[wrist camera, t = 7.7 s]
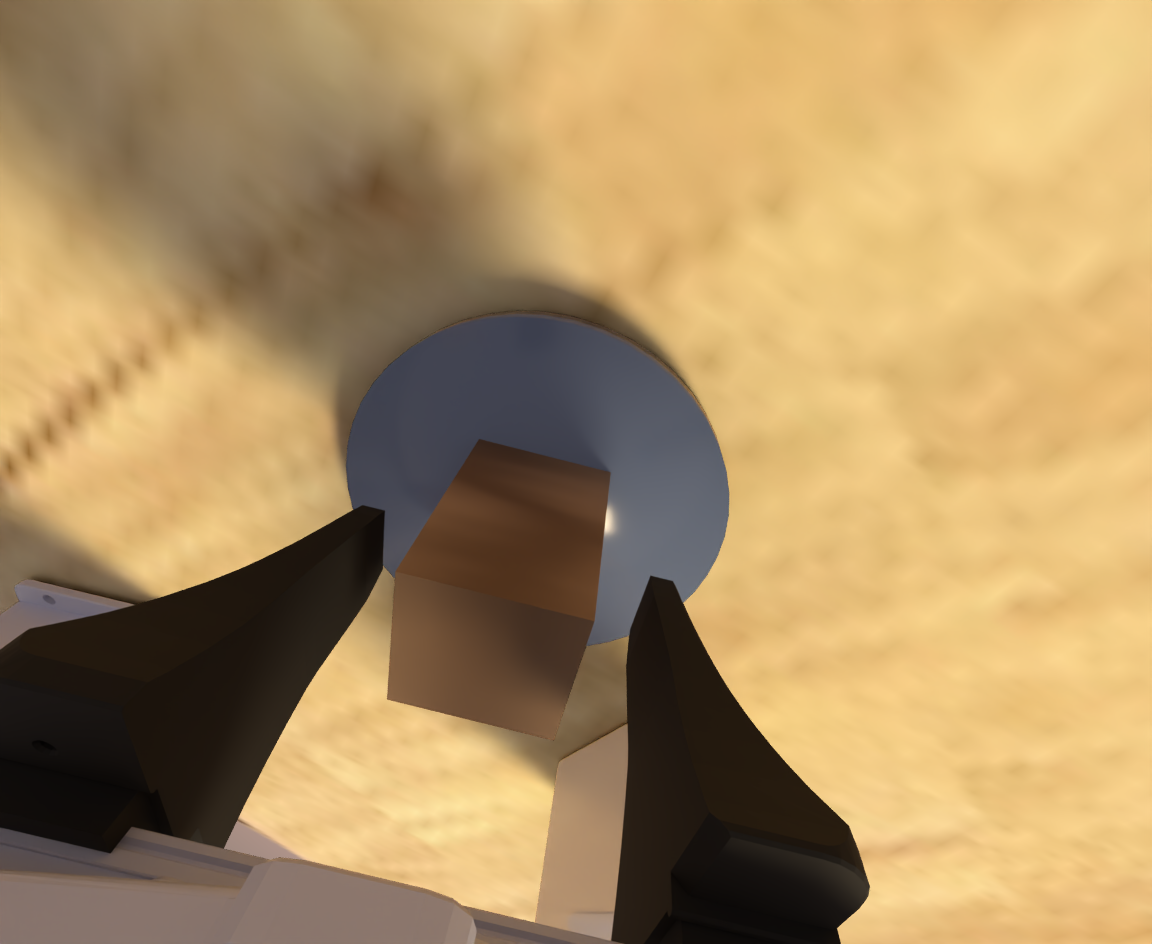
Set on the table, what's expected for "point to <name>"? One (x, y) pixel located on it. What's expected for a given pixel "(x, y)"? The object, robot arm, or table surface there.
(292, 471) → the table surface
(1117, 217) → the table surface
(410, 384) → the blue-grey round disc
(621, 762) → the jar
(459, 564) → the walnut block
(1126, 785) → the table surface
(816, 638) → the table surface
